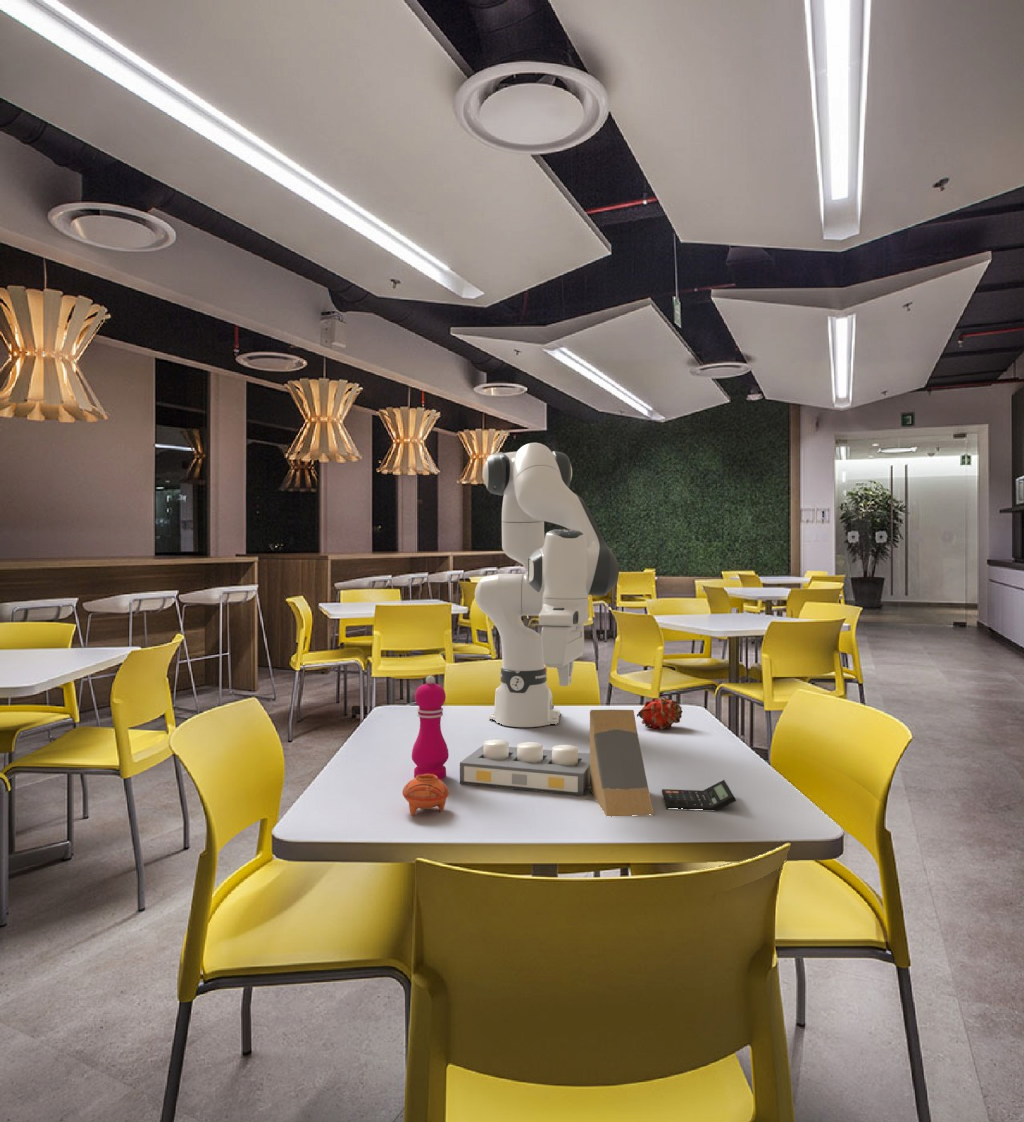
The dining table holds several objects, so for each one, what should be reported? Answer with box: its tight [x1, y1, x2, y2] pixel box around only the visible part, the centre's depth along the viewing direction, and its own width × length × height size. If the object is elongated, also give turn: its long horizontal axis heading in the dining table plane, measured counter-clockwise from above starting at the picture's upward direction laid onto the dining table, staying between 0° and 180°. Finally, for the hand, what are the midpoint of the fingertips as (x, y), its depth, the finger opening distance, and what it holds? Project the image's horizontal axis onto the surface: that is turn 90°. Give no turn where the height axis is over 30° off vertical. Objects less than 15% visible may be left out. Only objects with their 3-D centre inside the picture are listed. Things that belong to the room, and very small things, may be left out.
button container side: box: [551, 744, 579, 766], centre depth 141 cm, size 5×5×4 cm
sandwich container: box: [589, 709, 655, 818], centre depth 130 cm, size 9×15×15 cm, turn 4°
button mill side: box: [483, 739, 510, 760], centre depth 145 cm, size 5×5×4 cm
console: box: [459, 744, 590, 796], centre depth 142 cm, size 14×24×4 cm, turn 73°
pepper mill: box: [411, 675, 449, 781], centre depth 143 cm, size 7×7×20 cm
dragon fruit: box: [636, 696, 683, 731], centre depth 186 cm, size 8×8×12 cm
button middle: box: [516, 741, 544, 763], centre depth 143 cm, size 5×5×4 cm
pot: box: [402, 774, 450, 817], centre depth 124 cm, size 8×8×7 cm
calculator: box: [661, 779, 737, 811], centre depth 130 cm, size 9×12×3 cm
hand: (565, 684), depth 141 cm, fingers closed
